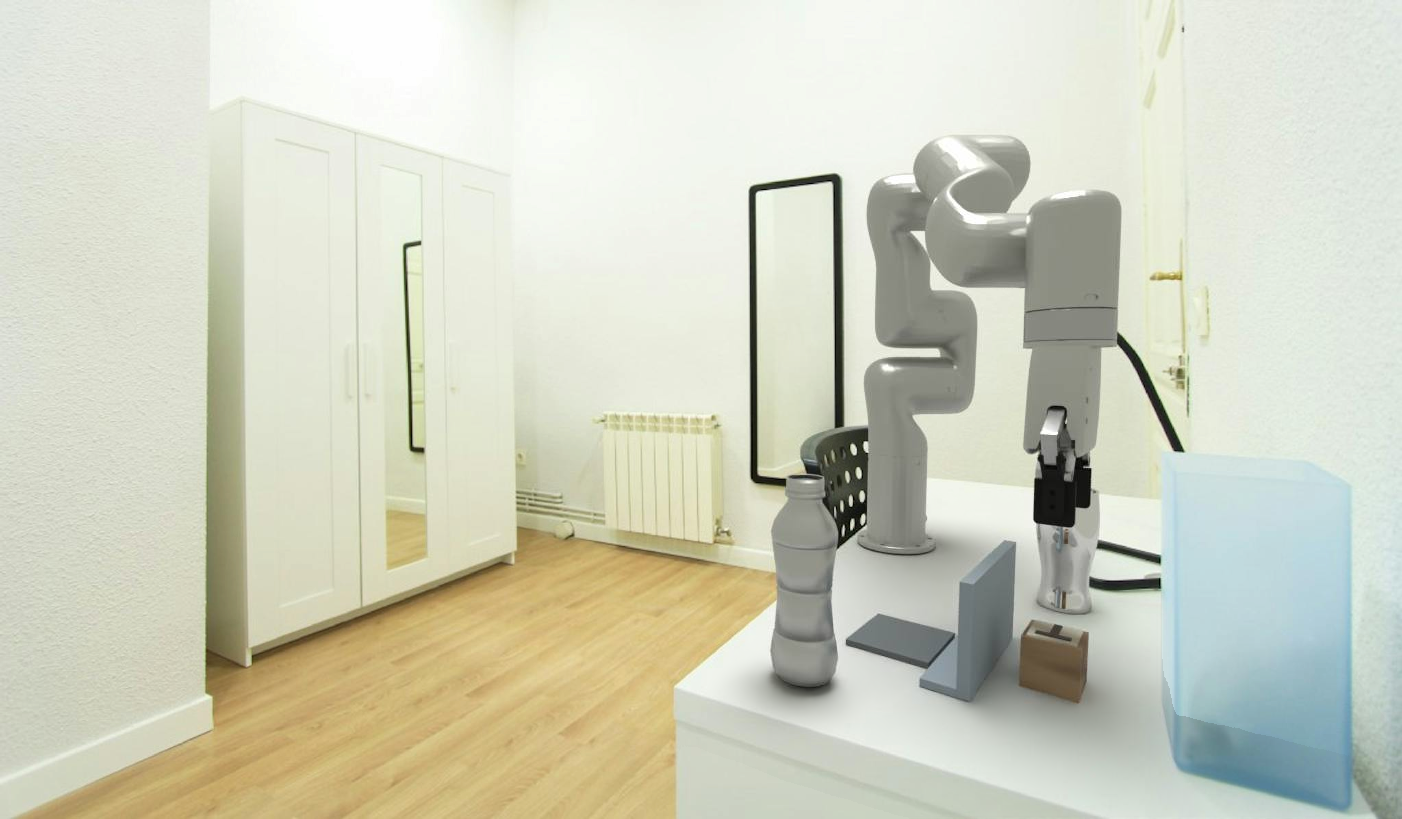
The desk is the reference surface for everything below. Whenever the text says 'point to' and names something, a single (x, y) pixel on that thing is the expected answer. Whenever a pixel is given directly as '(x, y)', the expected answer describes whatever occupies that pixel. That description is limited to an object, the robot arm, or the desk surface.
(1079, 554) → the beer glass
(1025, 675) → the letter cube
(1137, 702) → the desk surface
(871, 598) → the desk surface
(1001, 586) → the screen
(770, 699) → the desk surface
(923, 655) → the mat
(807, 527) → the plastic bottle
